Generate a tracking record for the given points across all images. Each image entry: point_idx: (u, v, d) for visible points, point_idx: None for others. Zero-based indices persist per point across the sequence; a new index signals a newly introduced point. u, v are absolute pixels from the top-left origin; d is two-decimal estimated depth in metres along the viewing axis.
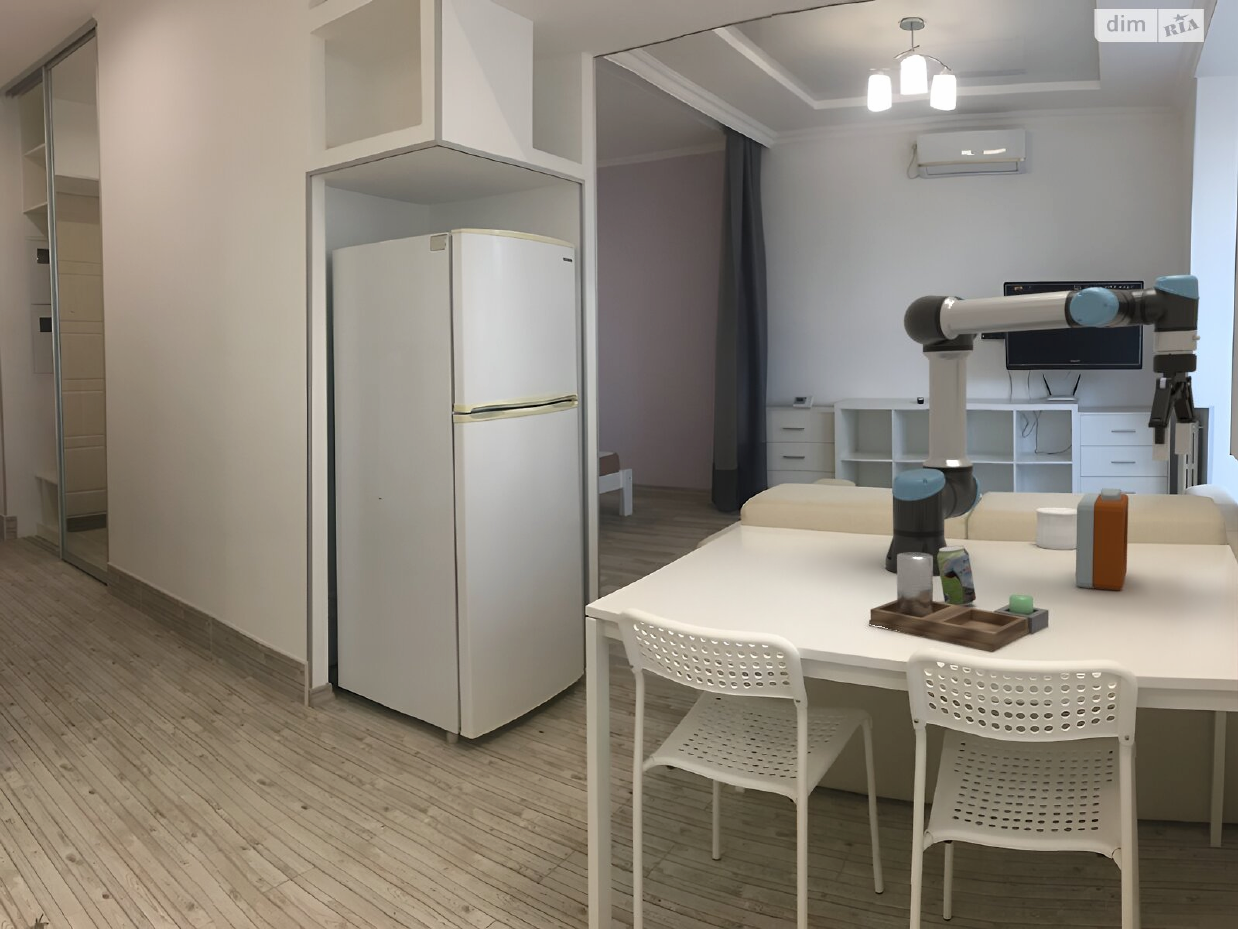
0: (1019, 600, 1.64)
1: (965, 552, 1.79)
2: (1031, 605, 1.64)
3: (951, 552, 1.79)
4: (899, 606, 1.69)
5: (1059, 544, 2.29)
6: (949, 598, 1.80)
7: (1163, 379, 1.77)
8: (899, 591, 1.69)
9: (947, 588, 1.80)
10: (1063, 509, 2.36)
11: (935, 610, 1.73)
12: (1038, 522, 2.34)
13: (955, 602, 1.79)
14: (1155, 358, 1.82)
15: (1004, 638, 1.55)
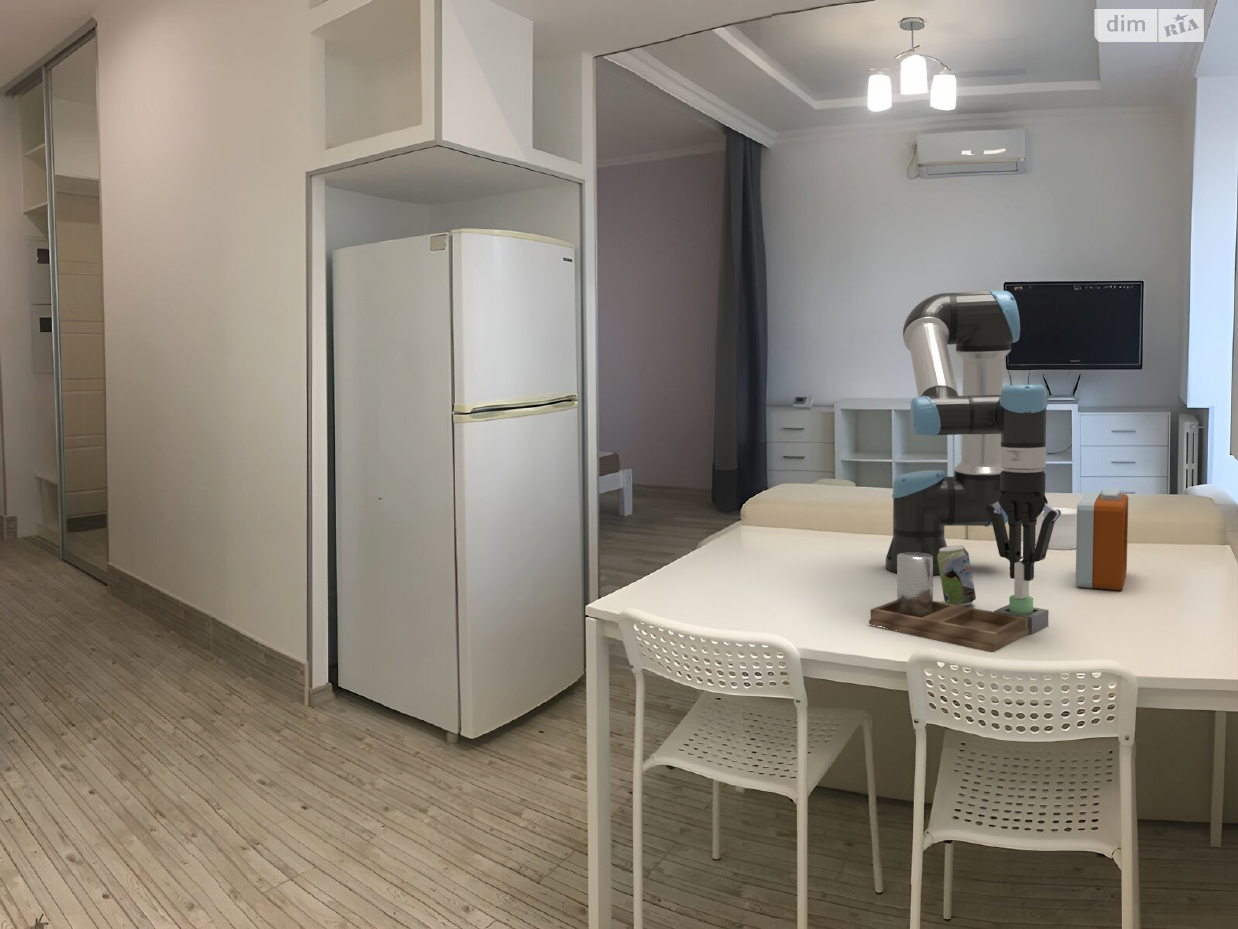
0: (1019, 601, 1.64)
1: (965, 552, 1.79)
2: (1031, 606, 1.64)
3: (951, 552, 1.79)
4: (899, 606, 1.69)
5: (1059, 544, 2.29)
6: (949, 598, 1.80)
7: None
8: (899, 591, 1.69)
9: (947, 588, 1.80)
10: (1063, 509, 2.36)
11: (935, 610, 1.73)
12: (1038, 522, 2.34)
13: (955, 602, 1.79)
14: None
15: (1004, 638, 1.55)
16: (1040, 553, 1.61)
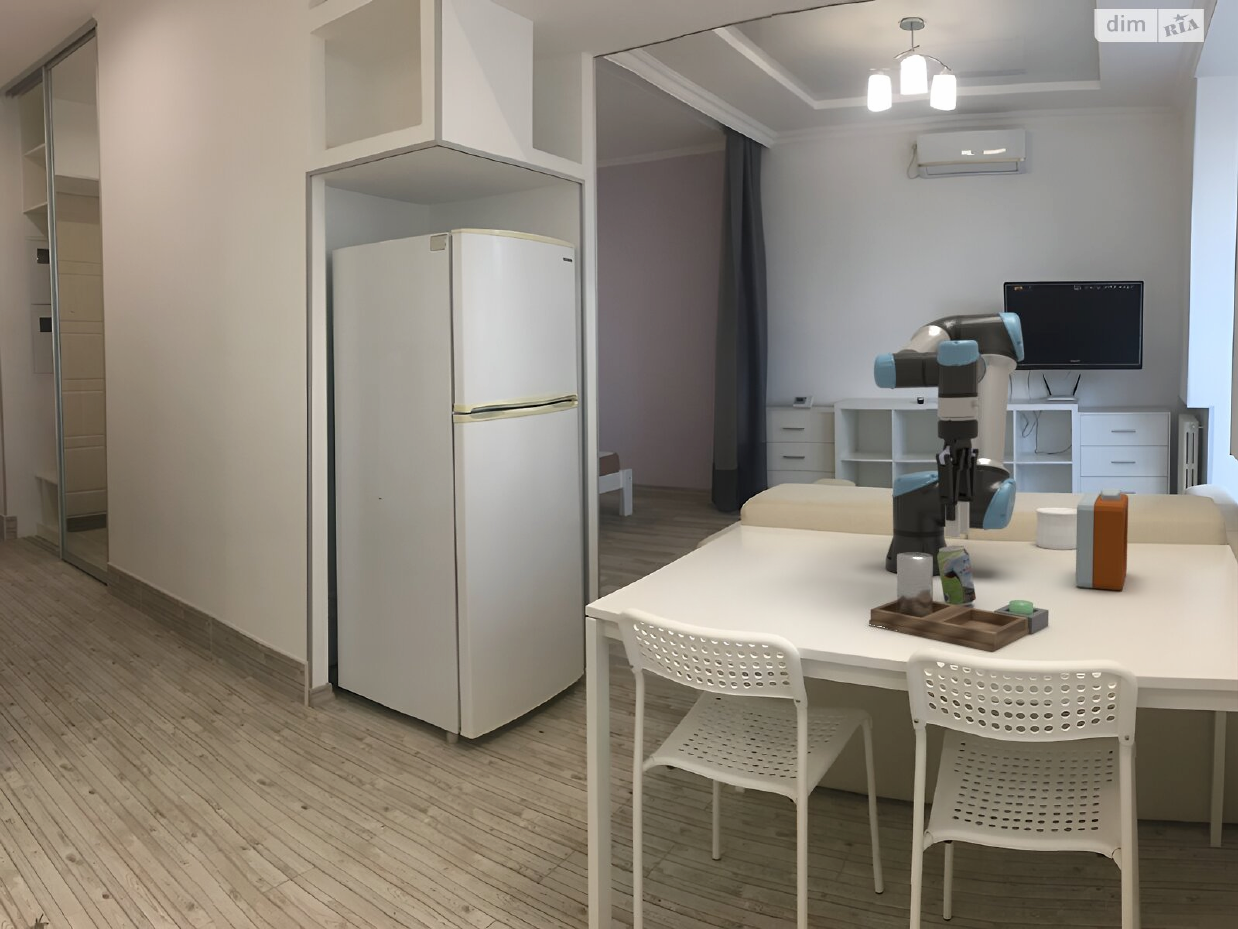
0: (1019, 606, 1.64)
1: (965, 552, 1.79)
2: (1031, 611, 1.64)
3: (951, 552, 1.79)
4: (899, 606, 1.69)
5: (1059, 544, 2.29)
6: (949, 598, 1.80)
7: (941, 457, 1.74)
8: (899, 591, 1.69)
9: (947, 588, 1.80)
10: (1063, 509, 2.36)
11: (935, 610, 1.73)
12: (1038, 522, 2.34)
13: (955, 602, 1.79)
14: (938, 423, 1.78)
15: (1004, 638, 1.55)
16: (975, 488, 1.82)
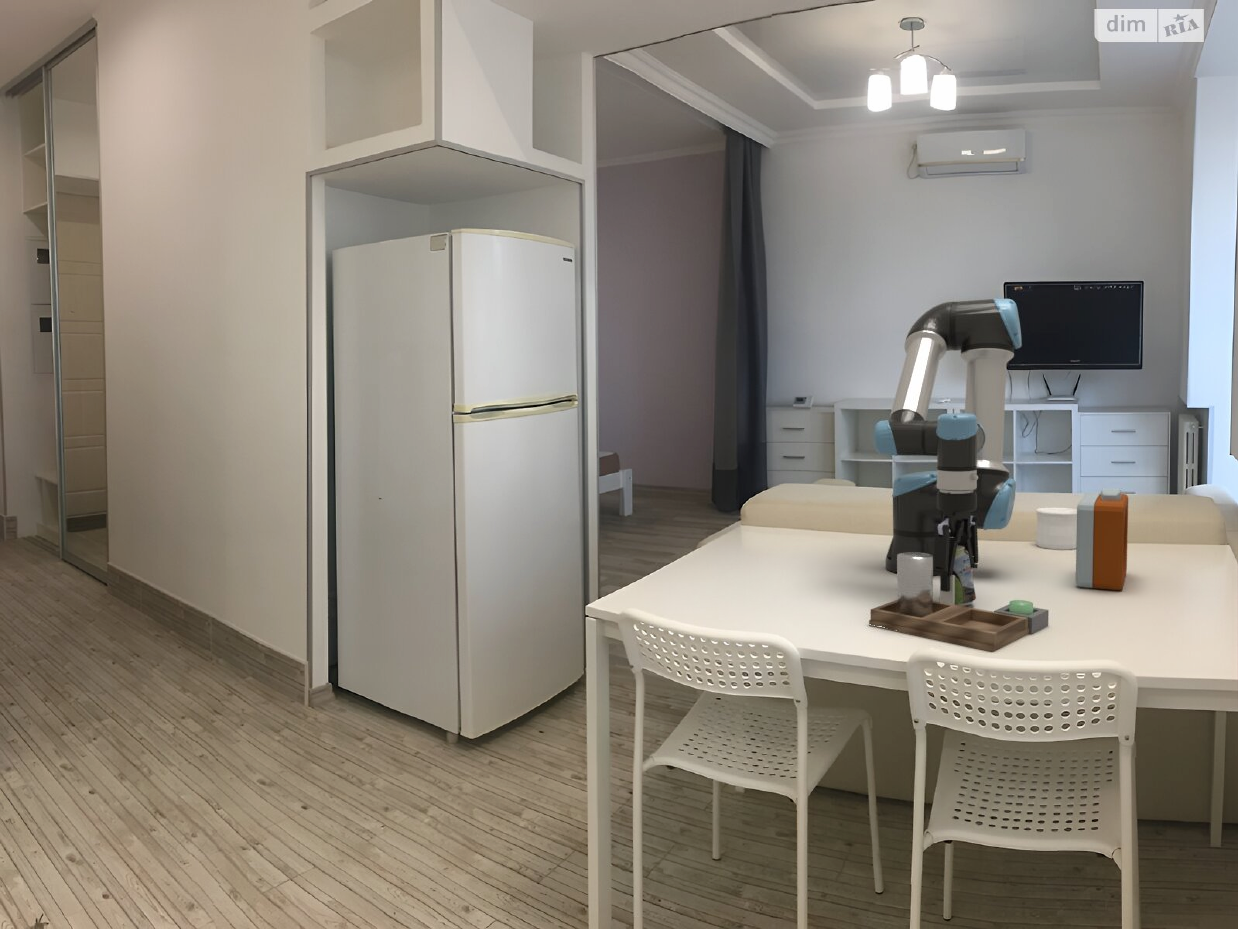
0: (1019, 606, 1.64)
1: (965, 552, 1.79)
2: (1031, 611, 1.64)
3: None
4: (899, 606, 1.69)
5: (1059, 544, 2.29)
6: None
7: (940, 527, 1.76)
8: (899, 591, 1.69)
9: None
10: (1063, 509, 2.36)
11: (935, 610, 1.73)
12: (1038, 522, 2.34)
13: (955, 602, 1.79)
14: (937, 495, 1.80)
15: (1004, 638, 1.55)
16: (977, 554, 1.85)
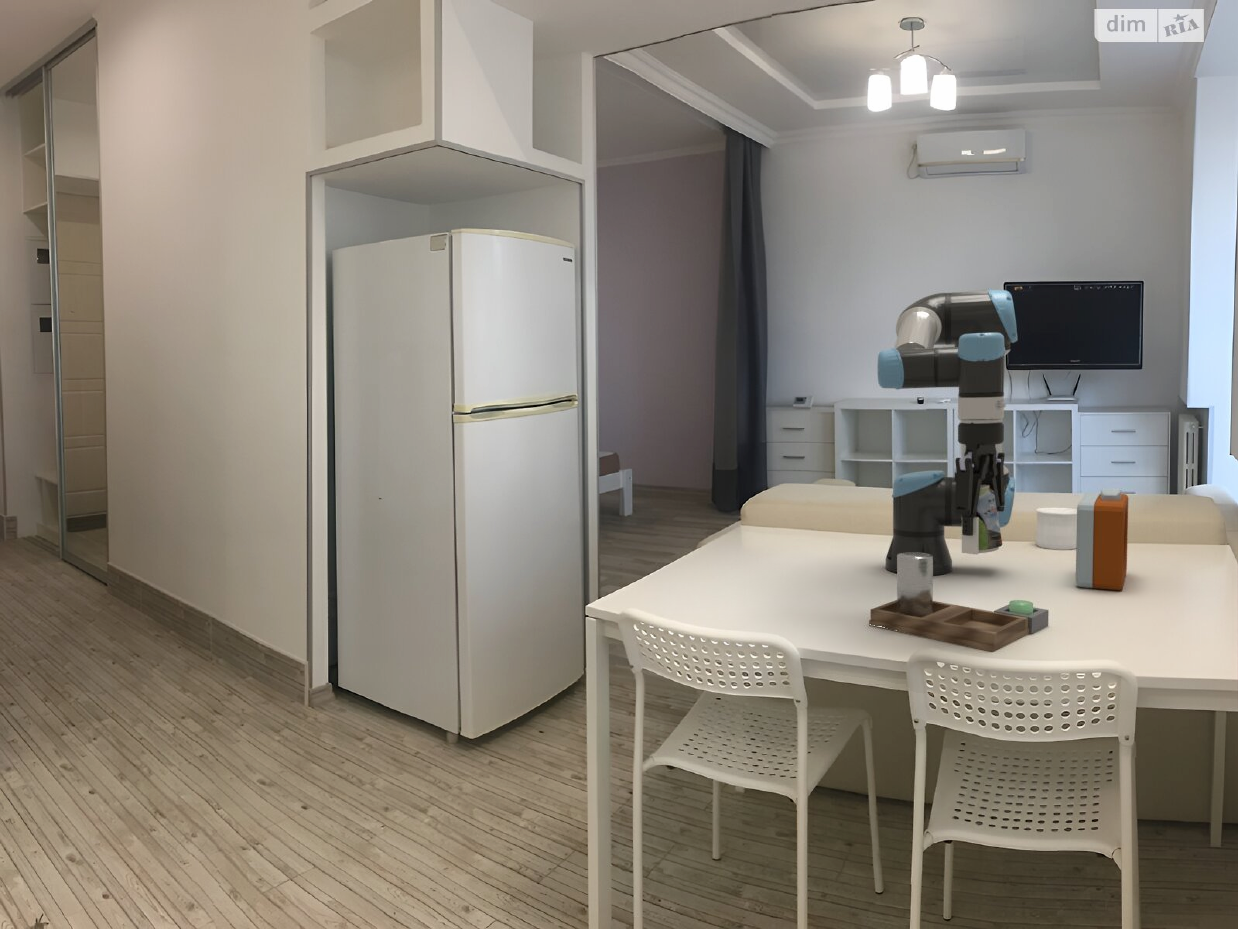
0: (1019, 606, 1.64)
1: (990, 491, 1.57)
2: (1031, 611, 1.64)
3: None
4: (899, 606, 1.69)
5: (1059, 544, 2.29)
6: None
7: (962, 461, 1.54)
8: (899, 591, 1.69)
9: None
10: (1063, 509, 2.36)
11: (935, 610, 1.73)
12: (1038, 522, 2.34)
13: (979, 548, 1.57)
14: (958, 427, 1.58)
15: (1004, 638, 1.55)
16: (1004, 496, 1.62)
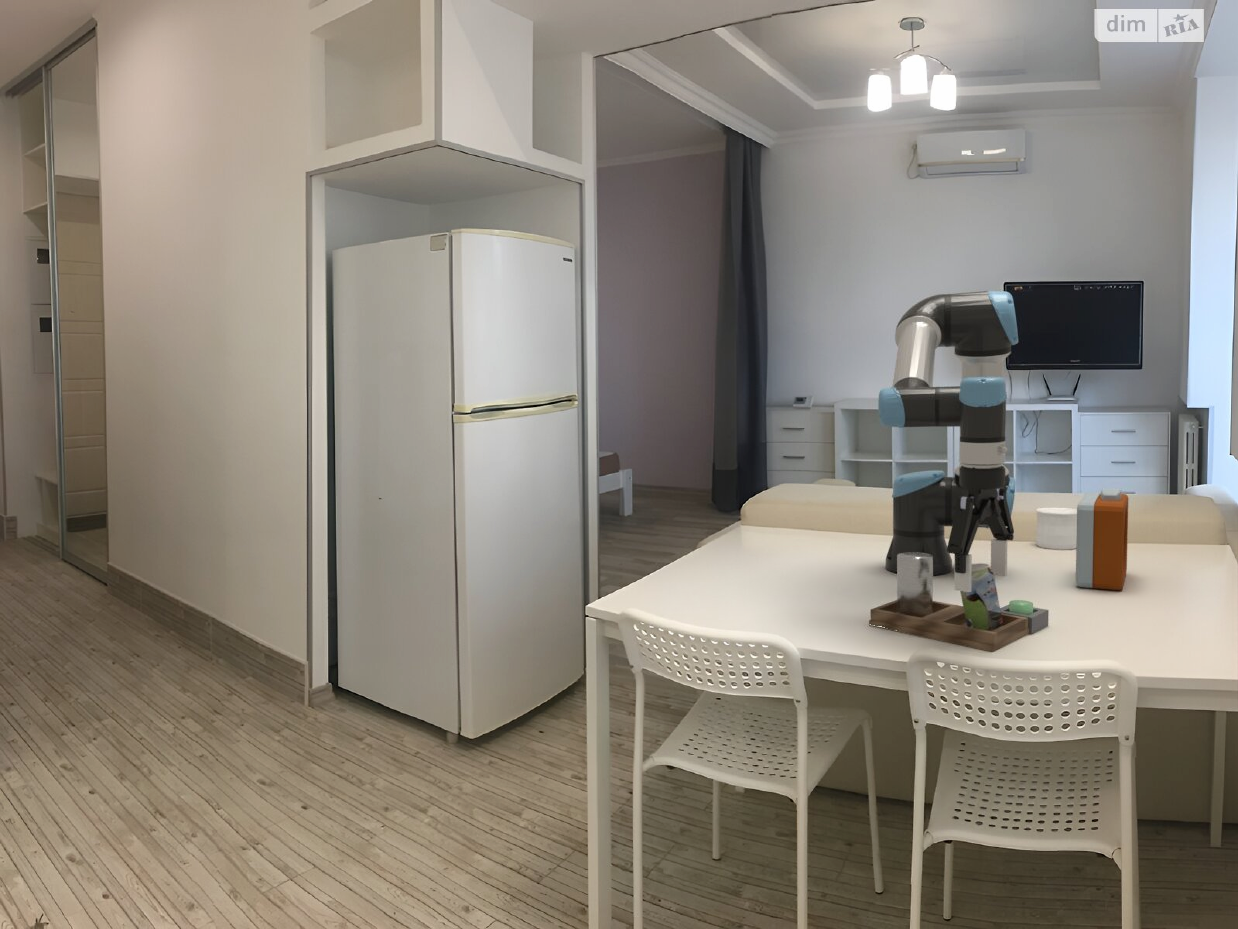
0: (1019, 606, 1.64)
1: (989, 572, 1.57)
2: (1031, 611, 1.64)
3: (973, 572, 1.57)
4: (899, 606, 1.69)
5: (1059, 544, 2.29)
6: (973, 624, 1.58)
7: (963, 499, 1.54)
8: (899, 591, 1.69)
9: (970, 612, 1.58)
10: (1063, 509, 2.36)
11: (935, 610, 1.73)
12: (1038, 522, 2.34)
13: None
14: (960, 471, 1.58)
15: (1004, 638, 1.55)
16: (1012, 525, 1.64)
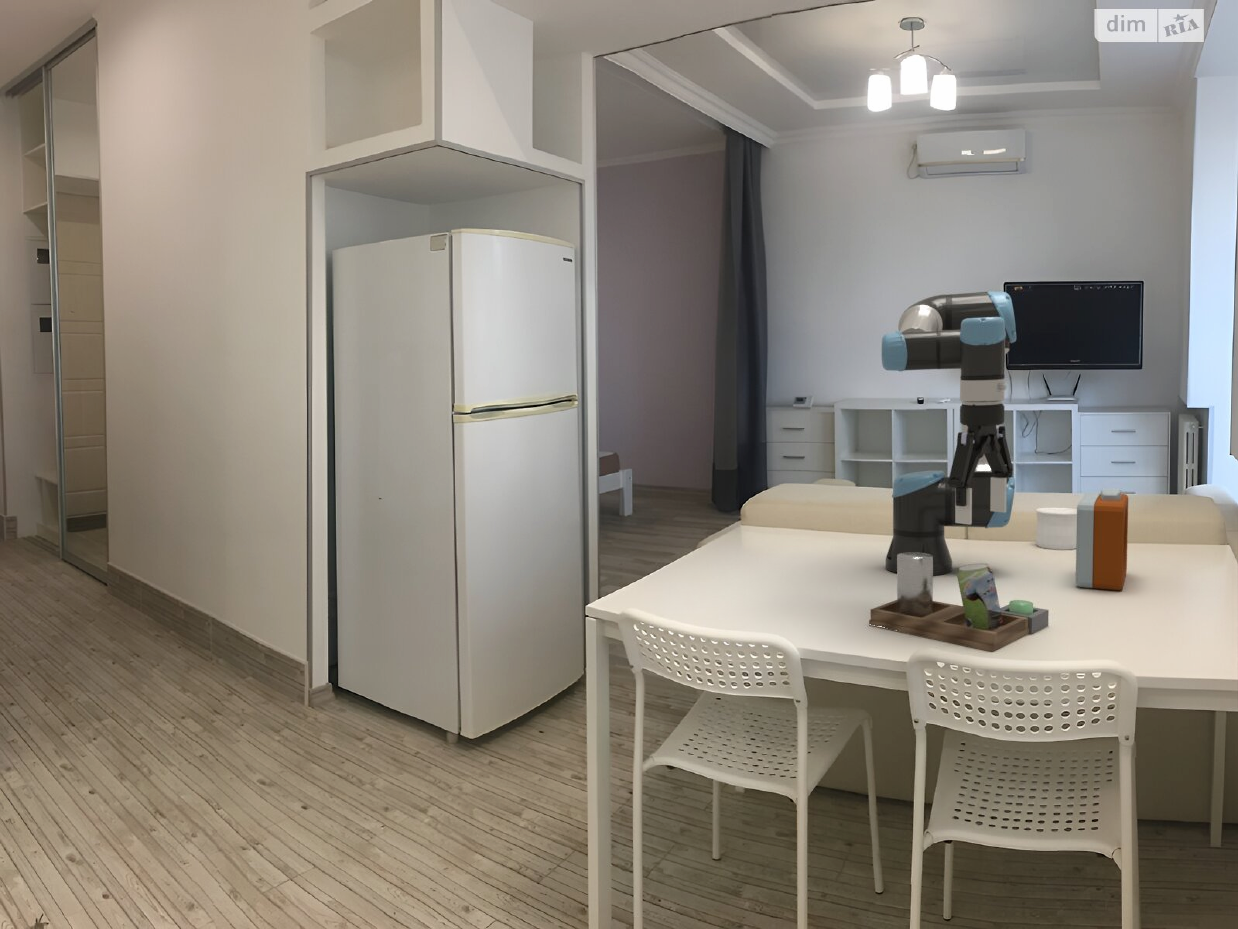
0: (1019, 606, 1.64)
1: (989, 571, 1.58)
2: (1031, 611, 1.64)
3: (973, 571, 1.58)
4: (899, 606, 1.69)
5: (1059, 544, 2.29)
6: (973, 624, 1.58)
7: (964, 434, 1.59)
8: (899, 591, 1.69)
9: (970, 612, 1.59)
10: (1063, 509, 2.36)
11: (935, 610, 1.73)
12: (1038, 522, 2.34)
13: (979, 628, 1.58)
14: (961, 408, 1.63)
15: (1004, 638, 1.55)
16: (1010, 463, 1.70)
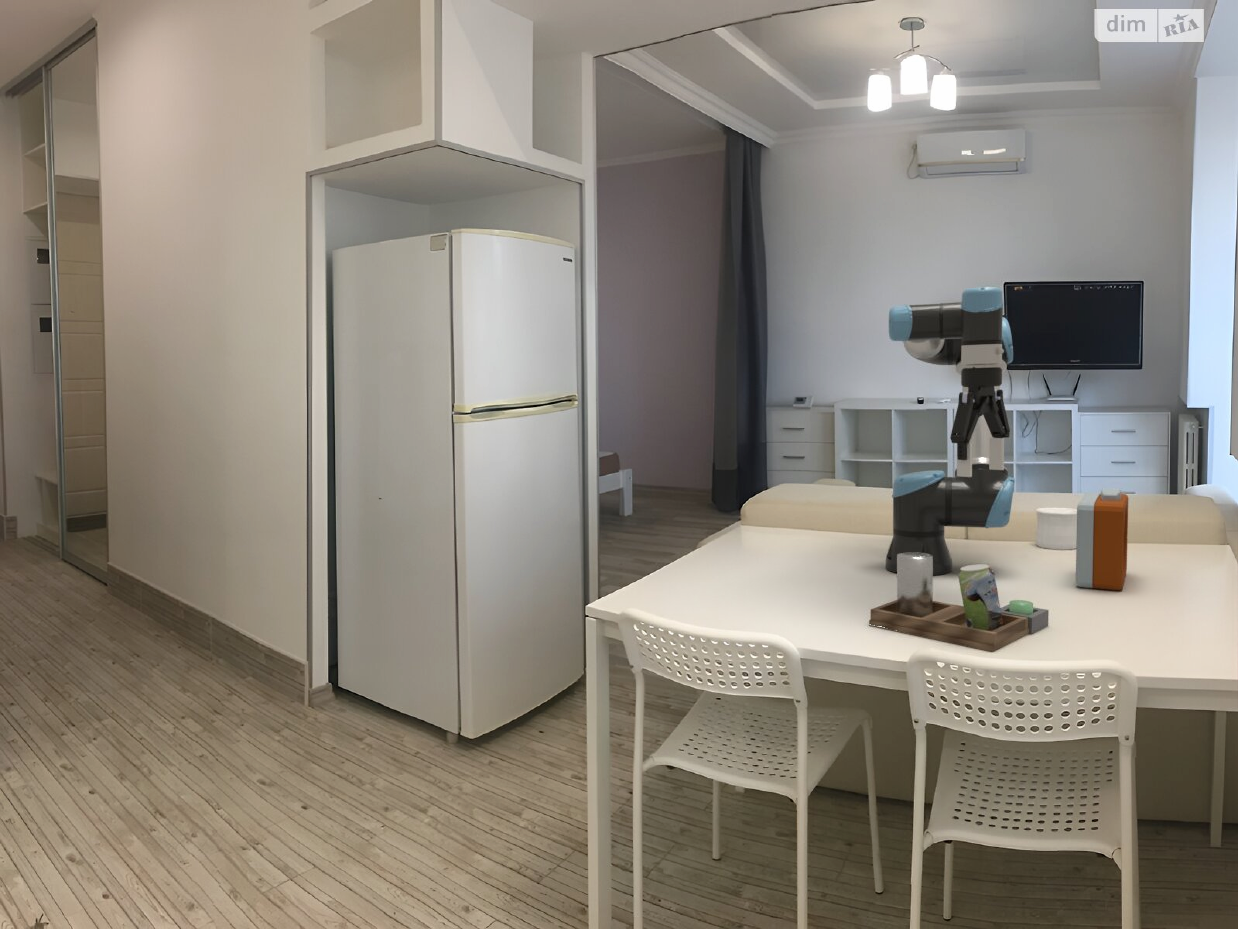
0: (1019, 606, 1.64)
1: (990, 572, 1.58)
2: (1031, 611, 1.64)
3: (974, 572, 1.57)
4: (899, 606, 1.69)
5: (1059, 544, 2.29)
6: (973, 624, 1.58)
7: (965, 394, 1.73)
8: (899, 591, 1.69)
9: (970, 612, 1.58)
10: (1063, 509, 2.36)
11: (935, 610, 1.73)
12: (1038, 522, 2.34)
13: (979, 628, 1.58)
14: (962, 372, 1.78)
15: (1004, 638, 1.55)
16: (1008, 424, 1.84)
